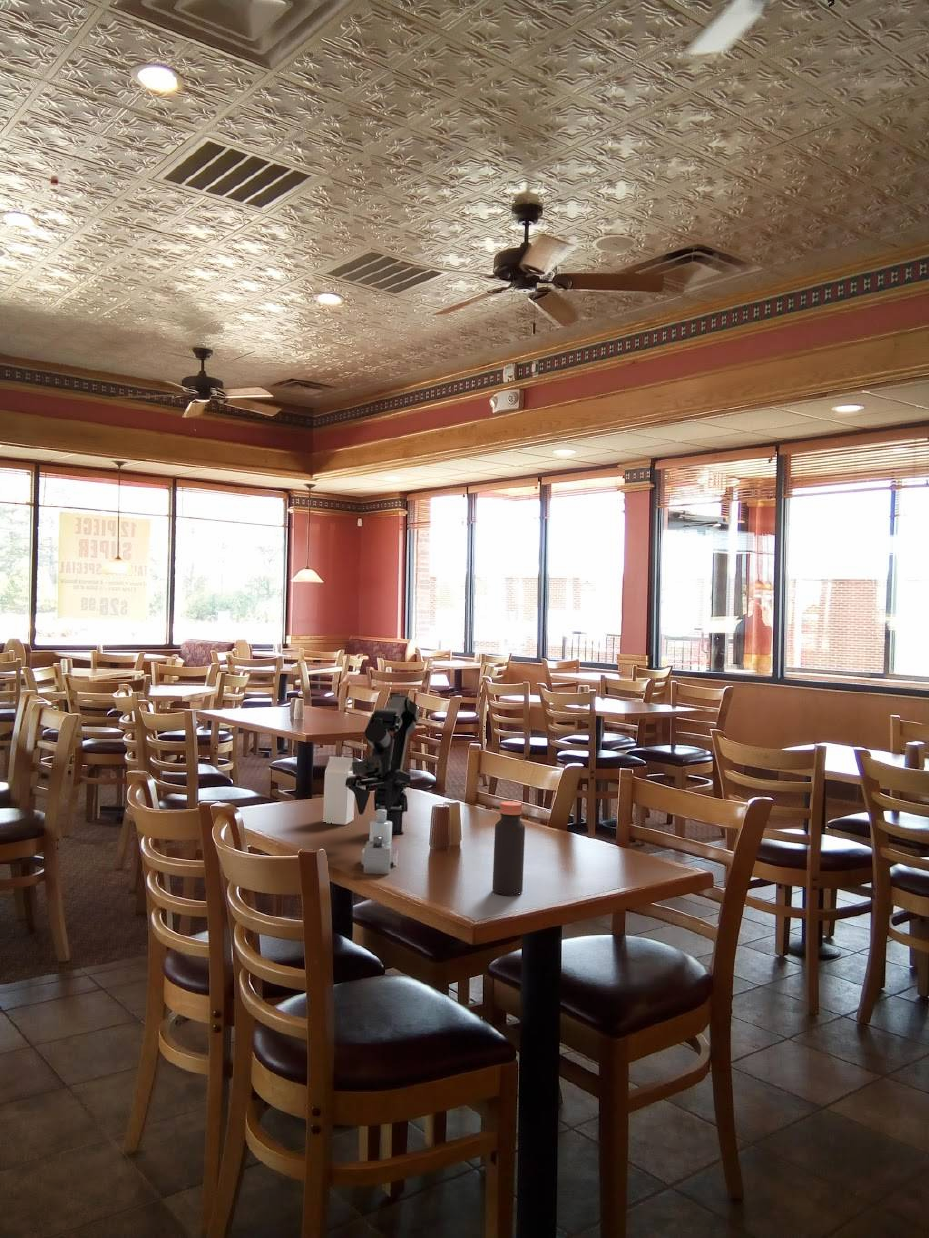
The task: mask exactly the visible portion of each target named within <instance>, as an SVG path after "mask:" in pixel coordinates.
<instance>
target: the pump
mask: <svg viewBox="0 0 929 1238" xmlns="http://www.w3.org/2000/svg"><path fill="white" fill-rule="evenodd" d="M386 814H387V810H385V809H378V810H377V811H376V818H377V820H376V819H374V820H371V821H370V822H369V841H373V837H375V836H382V837H383V842H392V839H393V838H392V837H393V836H392V835H393V834H392V822H391V821H388V820H386Z"/></svg>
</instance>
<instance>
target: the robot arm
mask: <svg viewBox="0 0 929 1238" xmlns="http://www.w3.org/2000/svg"><path fill="white" fill-rule="evenodd" d="M419 718H420V711H419V707H418V705H417V704H416V703H415V702H413V701H412V700H411V699H410V696H409V695H407V694H406V695H405V694H394V695H391V697H390V700H389V702H388V703H387V704H386V705H385V707H382V708H377V709H375V710H374V712H373V713H372V714H371V716H370V719H369V721H368V723H367V726H366V728H365V730H364V735H365V736H364V737H365V739H366V740H367V742H368V743H369V745H370V746H371V749H370V754H369V756H366V757H365V759H364V760H360V761H352V770H353V775H355V776H350V777H348V778H347V779H346V784H345V786H346V787H348V788H349V790H352V791H353V793H354V794H355V797H354V799H355V802H356V807H357V811H358V814H359V815H360V816H363V814H364V813H365V810H366V807H367V804H368V802H369V801H368V800H369V798H370V795H371V791H369V790H370V789H371V787H372V786H375V785H376V786H377V787H376V788H375V790H374V793H373V806H374V808H373V809H374V811H376V812H377V810H378V809H385V810H387V814H386V820H388V821H391V822H392V835H404V831H403V814H404V813H407V812H409V810H408V809H409V803H408V796H407V794H406V793H407V792H406V790H405V789H407V786H411V783H412V782H411V780H412V778H411V776H410V773H408V772H406V771H403V769H404V768H403V767H404V764H405V763H404V762H405V756H406V751H407V746H408V745H407V744H408V740H409V737H410V735H411V734H412V733H413V732H415V730H416V725H417V723H418V722H419V720H420V719H419ZM390 733H392V734H390ZM359 774H362V775H359ZM366 777H367V778H366ZM375 820H377V817H376V819H375Z"/></svg>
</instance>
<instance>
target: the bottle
mask: <svg viewBox="0 0 929 1238" xmlns="http://www.w3.org/2000/svg"><path fill="white" fill-rule="evenodd" d="M522 808H523V804H522V803H521V802H518V801H511V800H510V801H509V800H508V801H505V800H504V801H501V802H500V803H499V816H500V819H499V820H498V821H497V822H496V823H495V825H494V844H493V845H494V846H493V863H492V864H493V868H492V870H493V871H492V888H491V889H492V892H493V893H494V892H495V893H494V894H496V893H497V895H499V894H500V895H499V896H505V895H515V894H519V893H521V892H522V893H523V888H524V887H523V884H524V883H523V882H524V866H525V865H524V863H525V862H524V861H525V859H524V858H525V841H526V840H525V836H526V826H525V824H524V823H523V822H522V821H521V817H522V813H523V812H522ZM522 893H521V894H522ZM519 895H520V894H519ZM515 896H516V895H515Z"/></svg>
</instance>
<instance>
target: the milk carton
mask: <svg viewBox="0 0 929 1238" xmlns="http://www.w3.org/2000/svg"><path fill="white" fill-rule="evenodd" d="M328 758H329V759H328V762H327V765H326V767H325V771H324V782H323V783H324V784H323V810H322V823H323V822H326V823H325V824H331V823H332V824H333V825H345V826H346V825H347V824H349V823H351V822H353V821H354V820H355V819H354V817H355V816H354V815H355V794H354V793H353V791H352V790H349V788H348V787H346V786H345V784H346V779H347V778H348V777H350V776H356V774H355V775H353V770H352V762H354V761H353V757H345V756H344V757H342V756H333V755H332V756H329V757H328Z"/></svg>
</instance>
